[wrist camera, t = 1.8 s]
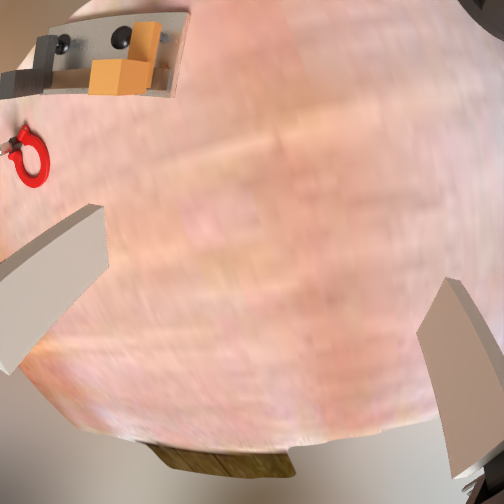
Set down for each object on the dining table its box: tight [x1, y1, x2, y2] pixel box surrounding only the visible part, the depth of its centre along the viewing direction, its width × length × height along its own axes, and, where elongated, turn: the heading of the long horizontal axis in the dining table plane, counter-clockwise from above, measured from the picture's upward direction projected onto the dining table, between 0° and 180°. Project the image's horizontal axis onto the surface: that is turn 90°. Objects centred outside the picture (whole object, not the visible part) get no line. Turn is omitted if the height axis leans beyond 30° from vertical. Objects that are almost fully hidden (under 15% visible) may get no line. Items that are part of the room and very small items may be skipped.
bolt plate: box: [40, 12, 191, 98], centre depth 26 cm, size 10×21×3 cm, turn 79°
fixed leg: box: [0, 35, 62, 100], centre depth 23 cm, size 8×3×8 cm, turn 169°
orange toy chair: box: [88, 21, 163, 96], centre depth 23 cm, size 8×3×8 cm, turn 169°
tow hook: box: [0, 125, 50, 188], centre depth 31 cm, size 8×13×9 cm
